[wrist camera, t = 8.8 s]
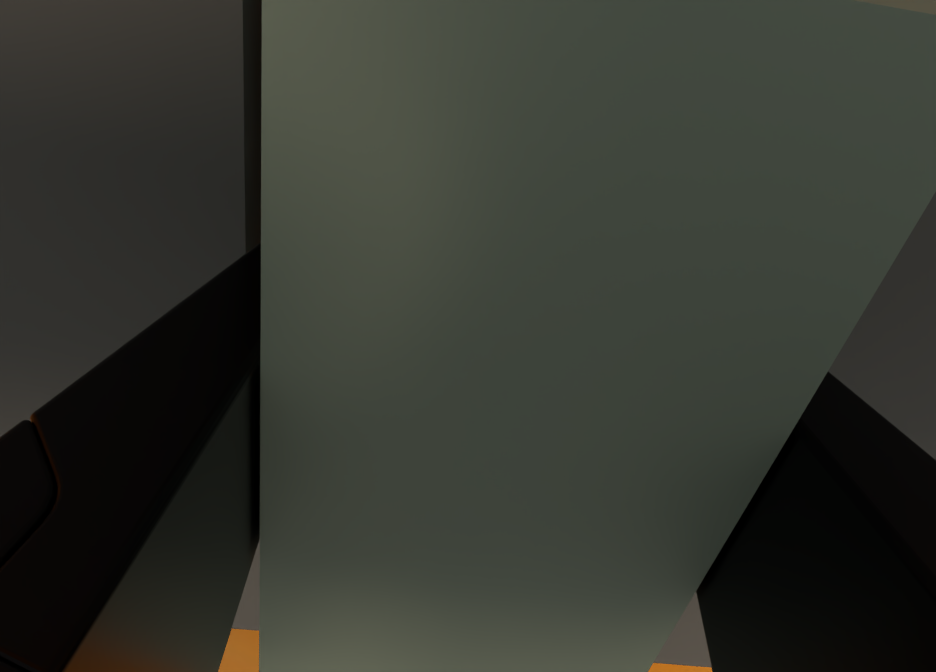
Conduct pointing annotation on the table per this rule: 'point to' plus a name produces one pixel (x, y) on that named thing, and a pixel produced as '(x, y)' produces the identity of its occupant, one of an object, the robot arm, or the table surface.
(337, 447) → the key block
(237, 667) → the table surface
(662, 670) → the table surface
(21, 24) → the socket board
